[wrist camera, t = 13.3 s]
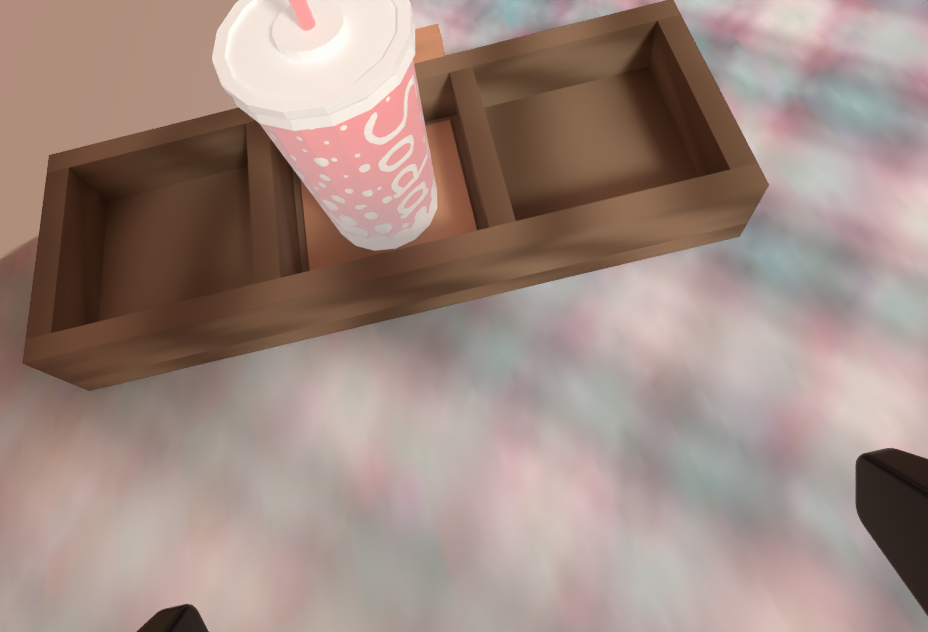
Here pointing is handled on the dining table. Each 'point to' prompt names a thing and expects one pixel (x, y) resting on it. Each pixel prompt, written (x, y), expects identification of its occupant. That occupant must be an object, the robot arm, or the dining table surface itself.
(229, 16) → the beverage cup
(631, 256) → the wooden compartment tray
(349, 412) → the dining table surface
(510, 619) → the dining table surface
